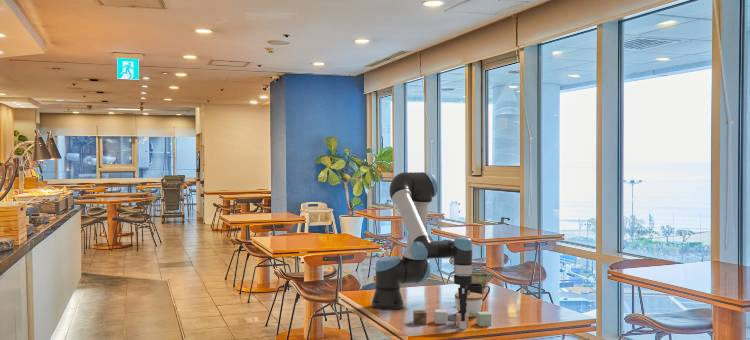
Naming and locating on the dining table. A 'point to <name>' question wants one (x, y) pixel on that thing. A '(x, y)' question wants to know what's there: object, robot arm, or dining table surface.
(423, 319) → the walnut block
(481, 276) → the ceramic cup
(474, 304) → the lidded bowl
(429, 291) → the dining table surface
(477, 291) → the mug
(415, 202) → the robot arm
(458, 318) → the terracotta block
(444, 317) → the grey block
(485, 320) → the sage block
